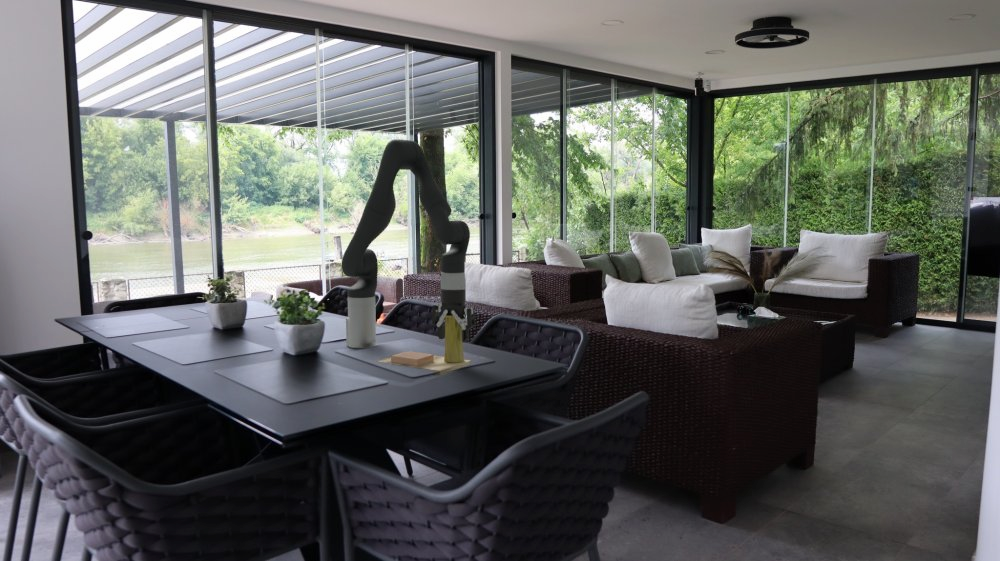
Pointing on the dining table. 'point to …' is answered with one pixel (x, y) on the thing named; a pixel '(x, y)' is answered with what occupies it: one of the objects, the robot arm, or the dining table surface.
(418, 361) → the tile
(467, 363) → the board
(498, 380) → the dining table surface
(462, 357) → the vase
